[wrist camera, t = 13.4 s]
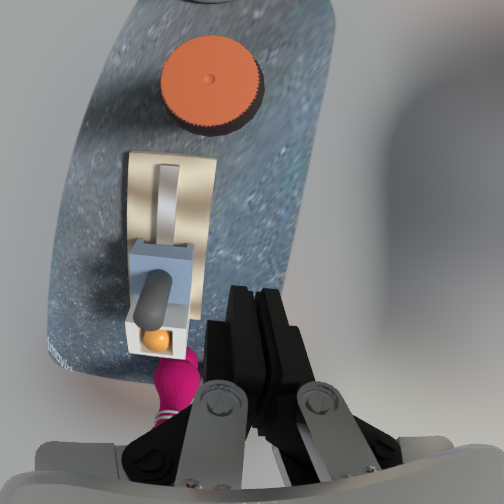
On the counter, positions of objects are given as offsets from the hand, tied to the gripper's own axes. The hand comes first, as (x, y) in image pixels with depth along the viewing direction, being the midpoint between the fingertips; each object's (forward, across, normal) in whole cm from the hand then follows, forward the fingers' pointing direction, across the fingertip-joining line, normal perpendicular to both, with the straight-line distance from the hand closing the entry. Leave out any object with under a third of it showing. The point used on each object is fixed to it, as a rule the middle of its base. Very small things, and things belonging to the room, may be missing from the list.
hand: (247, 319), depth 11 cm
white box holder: (+25, +6, +19) cm, 32 cm away
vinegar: (+27, +3, -8) cm, 28 cm away
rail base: (+26, +6, +10) cm, 29 cm away
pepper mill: (+26, +4, +31) cm, 41 cm away
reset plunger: (+20, +6, +19) cm, 28 cm away
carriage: (+25, +6, +12) cm, 28 cm away
